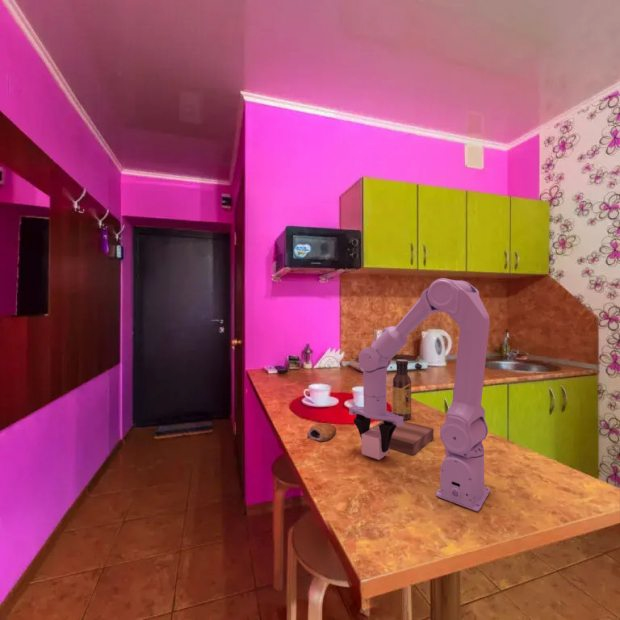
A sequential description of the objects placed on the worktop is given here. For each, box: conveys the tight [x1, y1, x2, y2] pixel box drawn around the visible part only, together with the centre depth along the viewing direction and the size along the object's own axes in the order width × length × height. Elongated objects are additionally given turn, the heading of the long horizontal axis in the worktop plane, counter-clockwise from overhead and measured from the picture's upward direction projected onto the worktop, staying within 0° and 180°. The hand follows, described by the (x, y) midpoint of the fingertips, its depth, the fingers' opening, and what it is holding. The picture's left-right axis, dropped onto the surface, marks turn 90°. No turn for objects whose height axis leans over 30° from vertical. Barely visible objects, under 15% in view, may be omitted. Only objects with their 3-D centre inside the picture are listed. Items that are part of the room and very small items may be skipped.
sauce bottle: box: [392, 358, 412, 421], centre depth 112 cm, size 6×6×20 cm
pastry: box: [306, 423, 337, 442], centre depth 97 cm, size 9×7×4 cm
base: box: [369, 420, 434, 456], centre depth 93 cm, size 14×14×3 cm
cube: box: [361, 429, 390, 461], centre depth 83 cm, size 5×5×5 cm
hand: (375, 447), depth 83 cm, fingers closed on cube, 5 cm apart
